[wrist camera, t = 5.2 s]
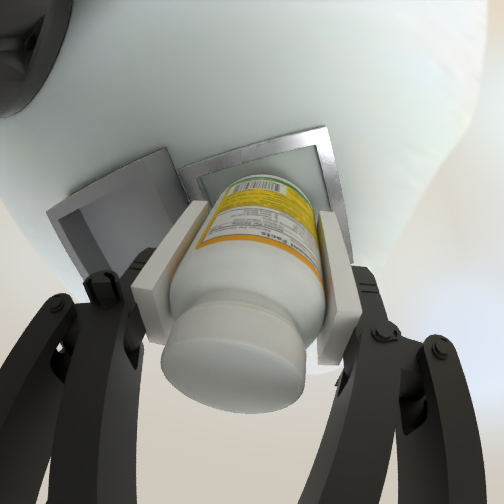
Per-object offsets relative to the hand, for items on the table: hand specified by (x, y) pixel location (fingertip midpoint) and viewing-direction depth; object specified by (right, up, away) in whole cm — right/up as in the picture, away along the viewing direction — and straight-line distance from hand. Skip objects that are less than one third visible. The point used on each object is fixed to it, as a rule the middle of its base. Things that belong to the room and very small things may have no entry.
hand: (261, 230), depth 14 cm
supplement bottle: (0, +1, +1) cm, 1 cm away
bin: (-9, 0, +6) cm, 11 cm away
